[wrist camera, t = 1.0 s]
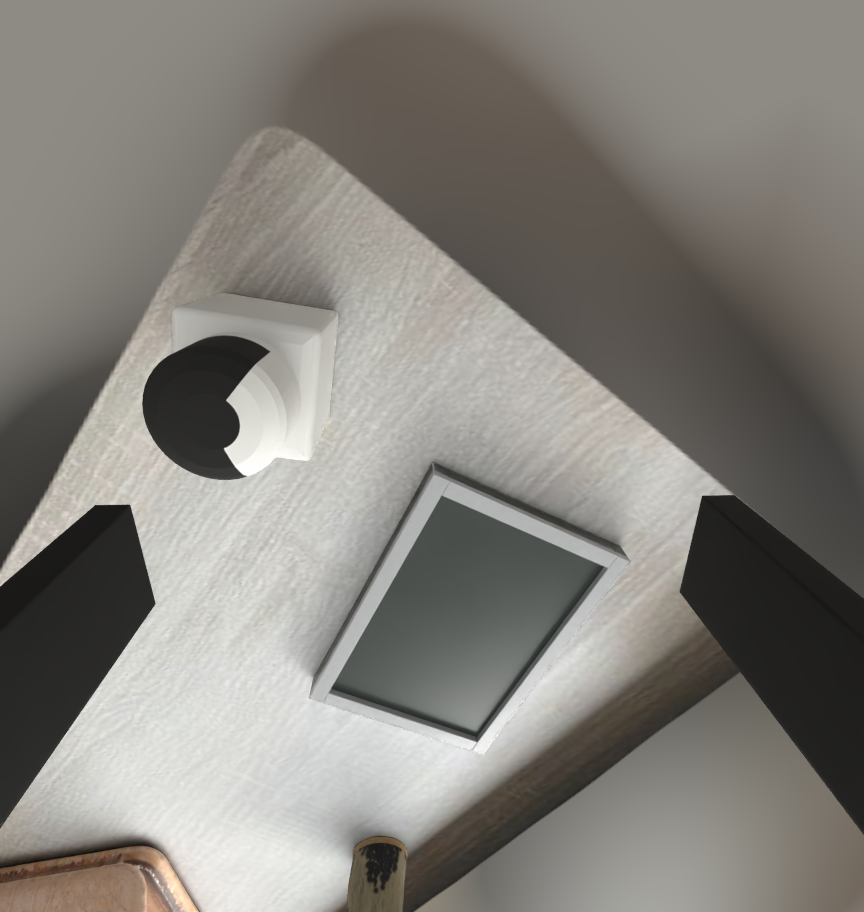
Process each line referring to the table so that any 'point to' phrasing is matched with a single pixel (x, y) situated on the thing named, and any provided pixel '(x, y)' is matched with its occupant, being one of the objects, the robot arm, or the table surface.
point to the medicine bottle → (242, 384)
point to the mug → (377, 876)
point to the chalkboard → (464, 612)
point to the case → (96, 884)
